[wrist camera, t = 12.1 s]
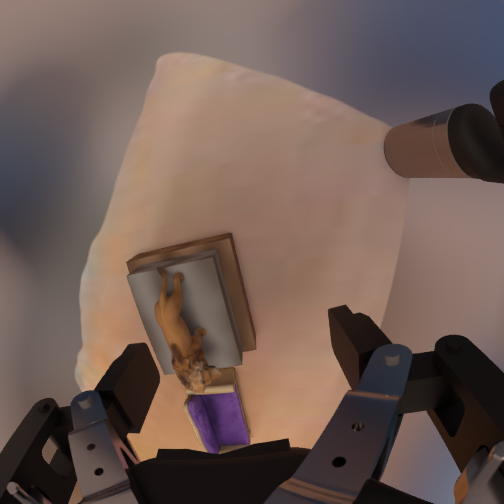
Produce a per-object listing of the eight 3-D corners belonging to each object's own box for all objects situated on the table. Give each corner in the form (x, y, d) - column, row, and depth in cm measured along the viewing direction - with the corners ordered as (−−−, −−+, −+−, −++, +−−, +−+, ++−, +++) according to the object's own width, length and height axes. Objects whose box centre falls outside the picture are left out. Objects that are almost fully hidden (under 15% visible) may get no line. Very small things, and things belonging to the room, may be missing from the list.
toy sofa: (251, 433, 54) (252, 467, 44) (213, 435, 54) (210, 469, 44) (235, 364, 49) (233, 400, 39) (190, 367, 49) (180, 402, 39)
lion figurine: (228, 351, 37) (224, 393, 28) (195, 362, 38) (184, 404, 29) (175, 257, 34) (153, 280, 25) (141, 273, 35) (112, 299, 26)
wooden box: (231, 232, 44) (226, 245, 34) (255, 334, 48) (257, 367, 38) (137, 254, 44) (112, 271, 34) (169, 348, 48) (155, 380, 38)
